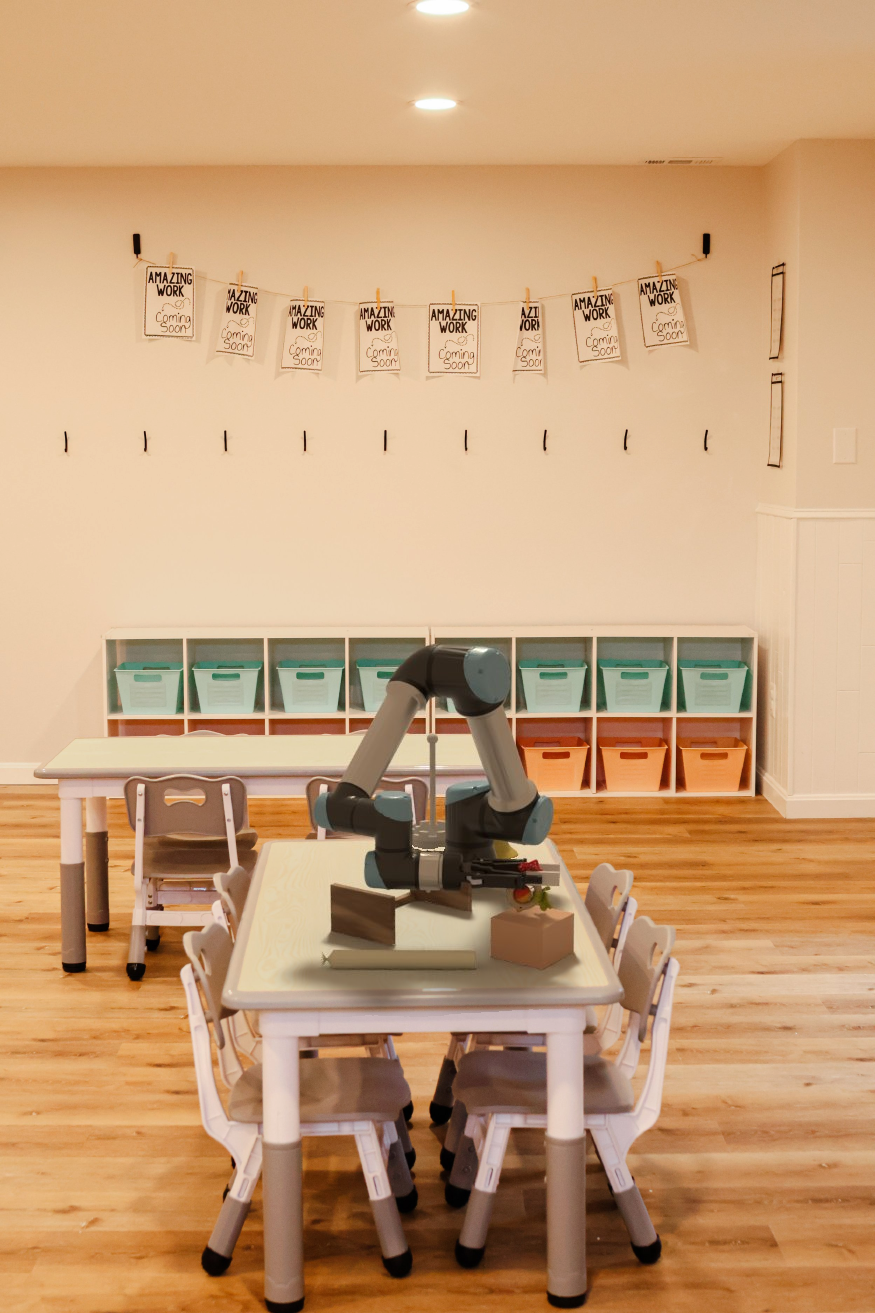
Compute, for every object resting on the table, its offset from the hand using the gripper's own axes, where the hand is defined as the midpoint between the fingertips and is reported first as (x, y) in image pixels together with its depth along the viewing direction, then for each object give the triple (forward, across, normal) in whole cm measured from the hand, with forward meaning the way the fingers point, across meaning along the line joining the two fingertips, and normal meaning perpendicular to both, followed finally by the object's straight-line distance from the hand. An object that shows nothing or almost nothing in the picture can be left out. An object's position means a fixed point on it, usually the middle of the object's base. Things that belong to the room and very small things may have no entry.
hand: (559, 874), depth 258 cm
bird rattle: (-6, 0, -8) cm, 9 cm away
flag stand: (-34, -79, -17) cm, 87 cm away
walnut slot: (-34, -19, -16) cm, 42 cm away
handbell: (-17, -72, -17) cm, 75 cm away
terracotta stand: (-5, 0, -16) cm, 17 cm away
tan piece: (-31, +10, -17) cm, 37 cm away
